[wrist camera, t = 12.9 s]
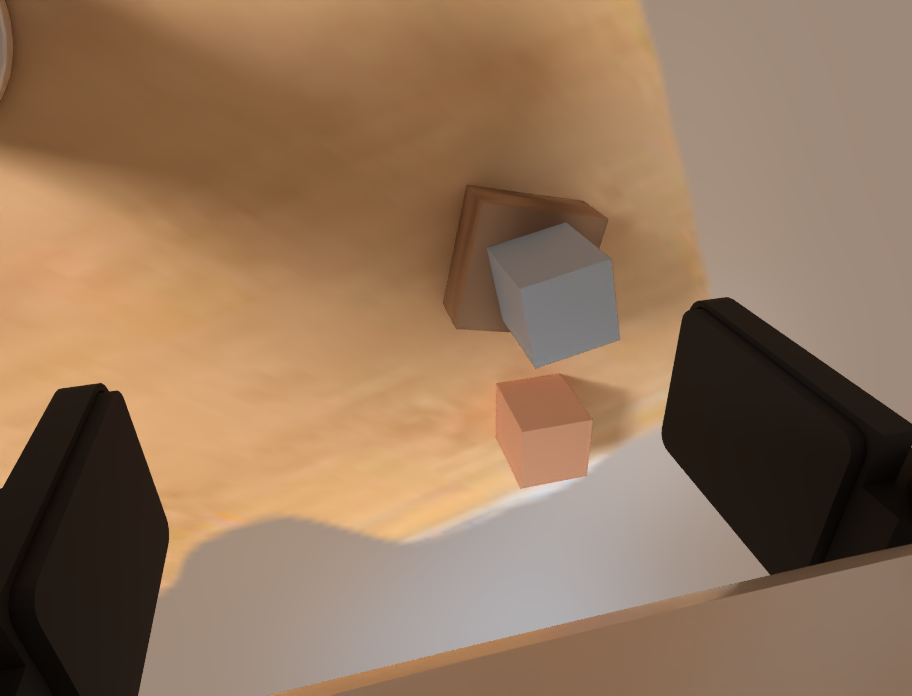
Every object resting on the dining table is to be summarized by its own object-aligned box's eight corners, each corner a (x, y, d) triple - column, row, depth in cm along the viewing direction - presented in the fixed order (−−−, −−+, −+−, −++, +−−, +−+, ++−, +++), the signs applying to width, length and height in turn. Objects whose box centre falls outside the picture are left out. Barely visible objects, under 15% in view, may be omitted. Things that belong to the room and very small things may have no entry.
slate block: (486, 248, 36) (519, 289, 31) (566, 222, 37) (611, 258, 32) (502, 319, 39) (535, 368, 34) (576, 295, 40) (620, 339, 34)
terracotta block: (495, 436, 49) (520, 488, 44) (496, 383, 46) (522, 432, 41) (555, 426, 50) (586, 475, 45) (559, 373, 47) (593, 419, 42)
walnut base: (442, 301, 42) (455, 328, 39) (465, 183, 38) (482, 203, 35) (549, 309, 44) (571, 336, 41) (581, 199, 41) (608, 219, 37)
